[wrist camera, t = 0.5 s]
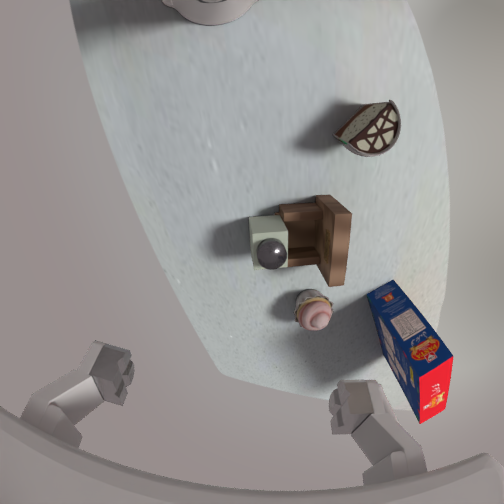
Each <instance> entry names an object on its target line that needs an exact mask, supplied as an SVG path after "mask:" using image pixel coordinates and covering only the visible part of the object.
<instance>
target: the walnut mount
mask: <svg viewBox="0 0 504 504" xmlns="http://www.w3.org/2000/svg"><path fill="white" fill-rule="evenodd" d="M275 215H280V217H281V218H282V220H283V222H284V224H285V226H286V228H287V230H288V267H292V266H303V265H314V264H316V265H317V266H318V268H319V270H320V272H321V274H322V275H323V277H324V279H325V281H326V283H327V285H328V286H329V287H333V286H341V285H344V281H345V273H346V266H347V258H348V249H349V240H350V230H351V219H352V213H351V212H350V211H348V210H347V209H346V208H345V207H344V206H343V205H342V204H340V203H339V202H338V201H337V200H336V199H335V198H333V197H332V196H331V195H316V203H297V204H279V212H277V213H275Z"/></svg>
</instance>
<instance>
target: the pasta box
mask: <svg viewBox="0 0 504 504" xmlns="http://www.w3.org/2000/svg"><path fill="white" fill-rule="evenodd" d="M366 295H367V298H368V301H369V304H370V308H371V311H372V314H373V318H374V321H375V325H376V328H377V332H378V336H379V339H380V343H381V347H382V351H383V355H384V356H385V358H386V360H387V362H388V364H389V366H390V367H391V369H392V371H393V373H394V375H395V377H396V379H397V380H398V382H399V384H400V386H401V388H402V390H403V392H404V394H405V396H406V398H407V400H408V402H409V404H410V406H411V408H412V410H413V411H414V414H415V415H416V418H417V420H418V421H419V424H421V423H423V422H424V421H426V420H428V419H429V418H431V417H433V416H435V415H436V414H438V413H439V412H441V411H443V410H444V409H445V407H446V402H447V396H448V391H449V385H450V379H451V371H452V363H453V355H452V354H451V352H450V351H449V349H448V348H447V347H446V345H445V344H444V343H443V341H442V340H441V338H440V337H439V336H438V335H437V333H436V332H435V331H434V329H433V328H432V327H431V325H430V324H429V323H428V321H427V320H426V319H425V318H424V316H423V315H422V314H421V313H420V311H419V310H418V309H417V308H416V306H415V305H414V304H413V303H412V301H411V300H410V299H409V298H408V297H407V295H406V294H405V293H404V292H403V291H402V289H401V288H400V287H399V286H398V285H397V283H396V282H395V281H394V280H392V281H390V282H388V283H386V284H384V285H383V286H381V287H379V288H377V289H375V290H373V291H372V292H370V293H368V294H366Z"/></svg>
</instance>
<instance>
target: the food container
mask: <svg viewBox="0 0 504 504" xmlns="http://www.w3.org/2000/svg"><path fill="white" fill-rule="evenodd" d="M400 129H401V119H400V114H399V111H398V109H397V106H396V105H395V103H394V102H393V101H392V100H389V102H382V103H372V104H364V105H363V106H362V107H361V108H360V109H359V110H358V111H357V112H356V113H354V114H353V115H352V116H351V117H350V118H349V119H348V120H347V121H346V122H345V123H344V124H343V125H342V126H341V127H340V128H339V129H338V130H337V131H336V132H335V133H334V134H333V136H334V137H335V138H336V139H338V140H339V141H341V142H343V143H345V144H344V146H345V147H346V148H347V149H348V150H349V151H351V152H352V153H354V154H357V155H360V156H365V157H370V156H378V155H381V154H383V153H385V152H387V151H388V150H389V149H391V148H392V147H393V145H394V144H395V143H396V141H397V139H398V137H399V134H400Z"/></svg>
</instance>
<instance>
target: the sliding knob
mask: <svg viewBox="0 0 504 504" xmlns="http://www.w3.org/2000/svg"><path fill="white" fill-rule="evenodd" d="M249 232H250V250H251V255H252V261H253V266H254V270H260V269H277V268H283V267H288V230H287V228H286V226H285V224H284V222H283V220H282V218H281V217H280V215H271V216H257V217H249Z"/></svg>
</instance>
